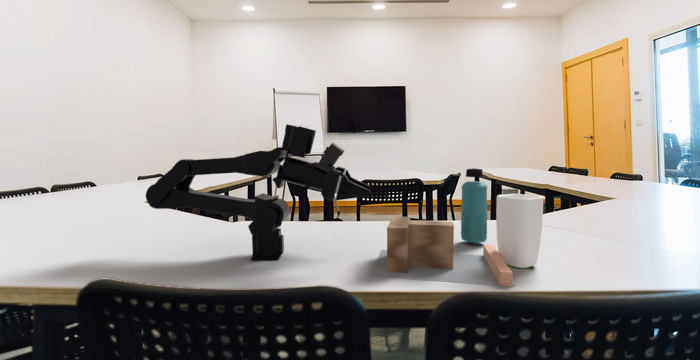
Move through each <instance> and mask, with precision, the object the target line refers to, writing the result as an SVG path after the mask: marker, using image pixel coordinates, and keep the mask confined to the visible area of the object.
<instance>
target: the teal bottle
mask: <svg viewBox="0 0 700 360" xmlns="http://www.w3.org/2000/svg"><path fill="white" fill-rule="evenodd" d="M465 177H466V178H483V177H484V174H483V168H473V167H472V168H467V169H466V171H465ZM460 208H461V209H460V211H461V212H460V215H461V216H460V220H461V221H460V237H461V240H462V241H464V242H470V243H475V244H476V243H485V242H486V241H487V239H488V219H489V218H488V215H489V213H488V186H487V184H486V183H485V182H484V181H476V180H475V181H469V180H468V181H467V180H466V181H465V182H464V183H463V184H462V185H461V207H460Z"/></svg>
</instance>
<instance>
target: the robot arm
mask: <svg viewBox="0 0 700 360" xmlns="http://www.w3.org/2000/svg"><path fill="white" fill-rule="evenodd" d="M316 132H317V131H316V130H314V129H311V128H308V127H303V126H300V125H298V126H297V125H293V124H288V123H287V124H286V125H285V127H284V137H283V141H282V145H281V146H278V147H275V148H273V149H271V150H257V151H252V152H250V153H249V152H248V153H244V154H241V155H239V156H235V157H234V156H233V157H218V158H207V159H206V158H205V159H204V158H202V159H193V158H188V159H186V158H185V159H179V160H178V161H177V162H176V163H175V164H174V165H173V166H172V167H171V169H169V170H168V171H167V172H166V173H165V174H163V175H162V176H161V177H160V178H159V179H158V180H157V181H156V182H155V183H153V184H151V185H150V186H149V187H148V188H147V190H146V191H145V199H146V202H147V203H148V205H149V207H151V208H152V209H157V210H167V209H168V210H169V209H181V208H190V209H197V210H201V211H209V212H214V213H220V214H227V215H234V216H238V217H244V218H247V219H248V220H250V221H251V222H250V224H248V230H249V232H250V234H251V242H252V245H251V247H252V248H251V249H252V255H251V257H250V261H265V260H266V261H269V260H270V261H272V260H280V258H281V257H282V255H283V254H284V252H285V236H284V235H283V234H282V228H280V227H282V224H283V222H284V221H285V220H287V218H288V217H289V216H290V215H289V214H290V206H289V204H288V202H287V201H286V200H285V199H283V198H279V197H280V195H270V194H267V193H260V194H257V195H255V196H254V199H249V198H243V197H237V196H231V195H227V194H226V195H224V194H219V193H212V192H206V191H200V190H195V189H194V188H192V187H191V185H192V183H193V180H194V178H195V177H196V176H204V175H218V174H220V175H221V174H222V175H223V174H241V175H248V176H255V177H256V176H257V177H266V176H270V175H273V174H275V173H277V176H275V177H273V178H272V181H273V183H275V186H276V188H277V189H281V188H283V187H284V185H285V182H287V183H291V184H294V185H298V186H301V187H304V188H305V189H307V190H309V189H313V190H315V191H320V194H321V196H322V197H323V199H324V200H327V201H331V202H334V201H341V200H343V201H344V200H348V199H349V200H350V199H357V198H365V197H371V196H372V190H371V189H372V187H371V186H370V185H368V184H366V183H364V182H362V181H360V180H359V179H356V178H354V177H352V176H351V174H350V172H349V169H346V168H345V167H342V166H337V167H336V166H335V164H336V163H337V161H338V160H339V159H340V157H341V156H343V154H344V153H345V150H344V149H343V148H342V147H340V146H339V145H337V144H336V143H334V142H331V144H330V145H329V146H327V147H326V148H325V150H324V151H323V153H324V154H323V155H322V157H321V158H320V159H319V162H317V161H314V162H309V161H307V160H302V159H303V158H304V159H305V158H306V156H308V155H311V152H312V148H313V145H314V140H315V137H316ZM292 156H295V157H299V158H302V159H299V158H295V157H292ZM282 162H283V164H281V163H282ZM335 194H336V196H335Z"/></svg>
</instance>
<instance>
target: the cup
mask: <svg viewBox="0 0 700 360" xmlns="http://www.w3.org/2000/svg"><path fill="white" fill-rule="evenodd" d="M543 217H544V196H540V195H534V194H533V195H532V194H522V193H507V194H506V193H505V194H498V195H497V196H496V217H495V218H496V225H495V226H496V243H497V252H498V253H499V255H500V256H501V257H502V259H503V260H504V261H505V263H506V264H507V266H508V267H513V268H515V269H526V268H527V269H529V268H532V267H534V266H536V265H537V263H538V258H539V252H540V247H541V239H542V232H543V230H542V229H543V220H544V219H543Z"/></svg>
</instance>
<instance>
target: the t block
mask: <svg viewBox="0 0 700 360" xmlns="http://www.w3.org/2000/svg"><path fill="white" fill-rule="evenodd" d="M454 227H455V226H454V223H453V221H444V220H443V221H442V220H441V221H440V220H439V221H438V220H434V221H433V220H411V216H392V217H391V219H390V221H389V223H388V225H387V227H386V250H387V272H397V273H407V272H408V267H424V268H439V269H453V254H454V243H455V241H454V238H455V237H454V233H455V231H454V230H455V228H454Z"/></svg>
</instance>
